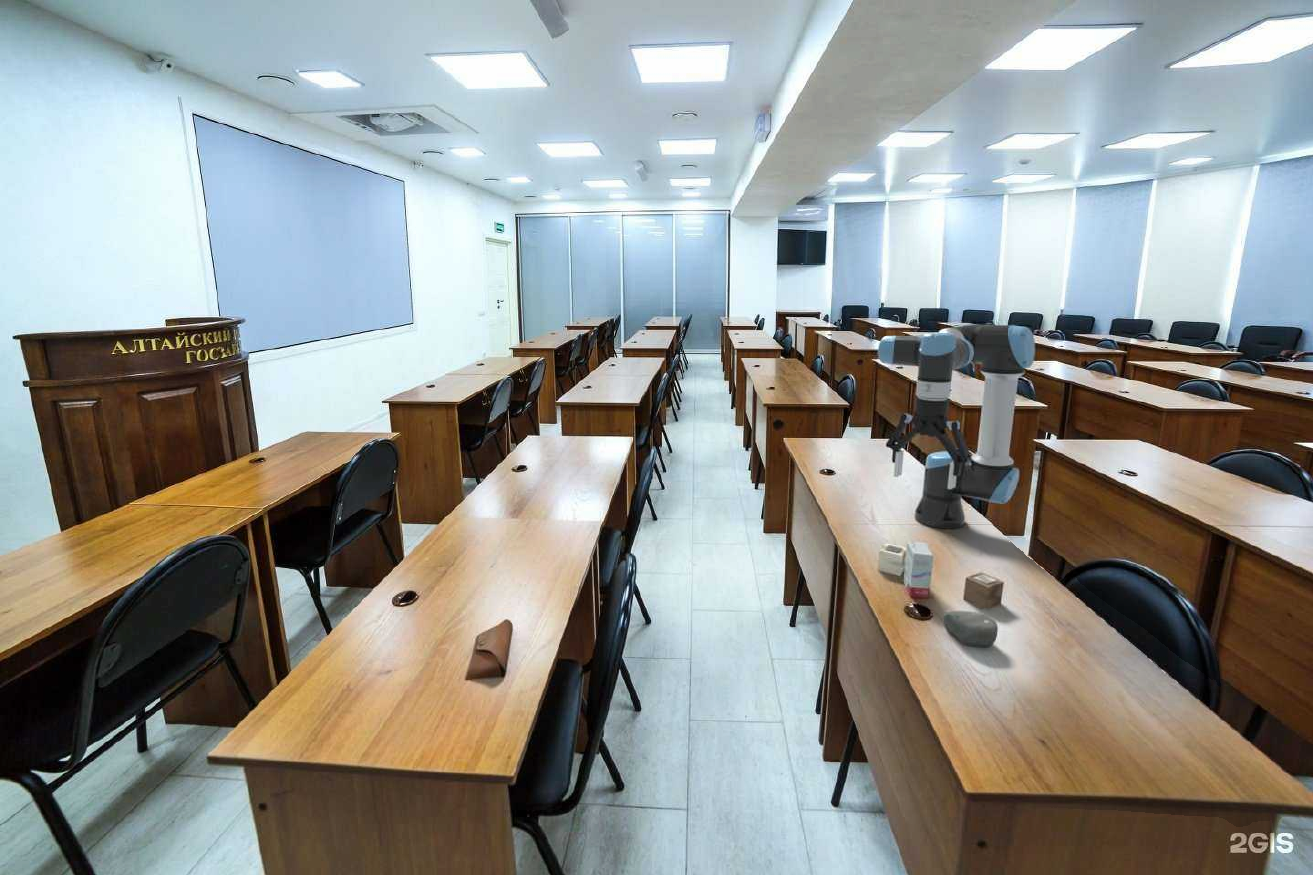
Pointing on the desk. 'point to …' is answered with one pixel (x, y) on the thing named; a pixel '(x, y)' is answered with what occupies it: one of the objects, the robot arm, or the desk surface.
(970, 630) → the stone
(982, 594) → the walnut block marked
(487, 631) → the sunglasses case
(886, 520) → the desk surface
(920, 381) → the robot arm
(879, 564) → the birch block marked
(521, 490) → the desk surface
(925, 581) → the ink box
